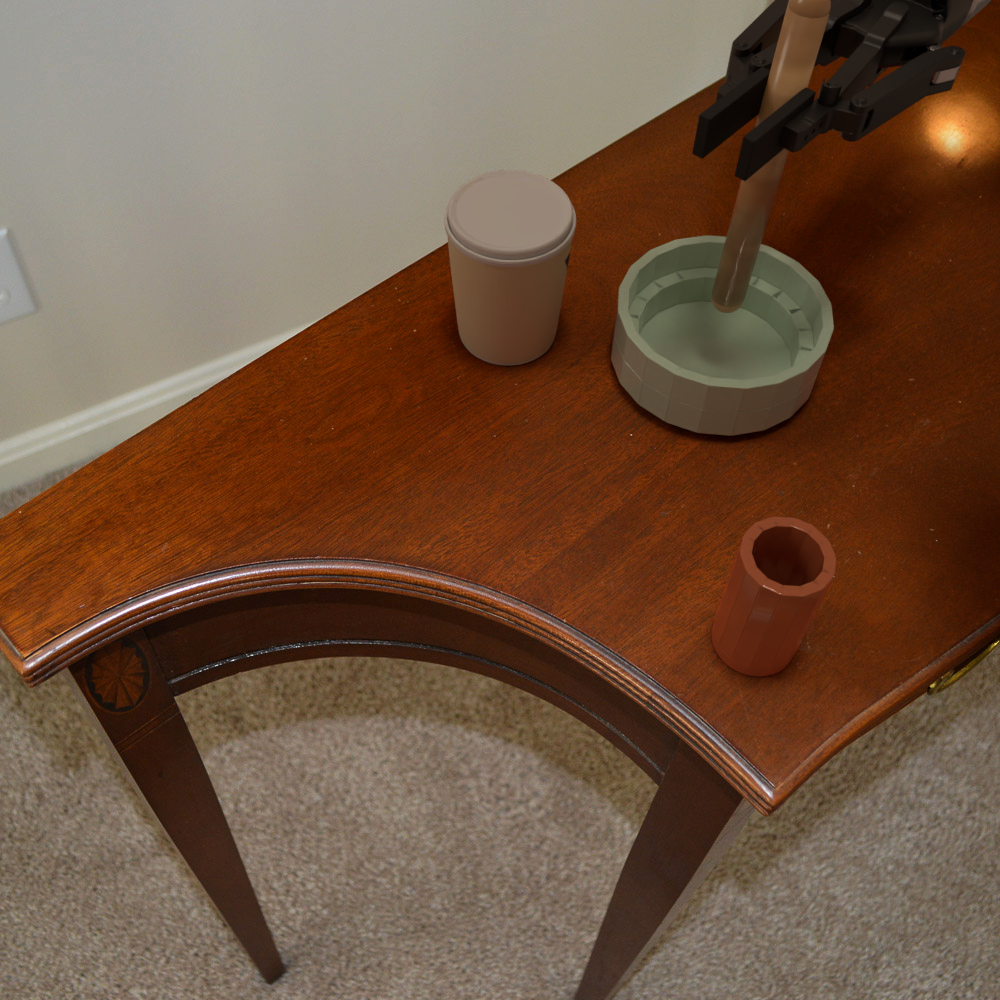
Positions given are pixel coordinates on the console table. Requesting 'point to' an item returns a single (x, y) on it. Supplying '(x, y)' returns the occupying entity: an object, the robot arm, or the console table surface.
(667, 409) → the bowl
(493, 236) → the coffee cup
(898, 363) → the console table surface
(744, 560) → the crock
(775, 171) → the stick
